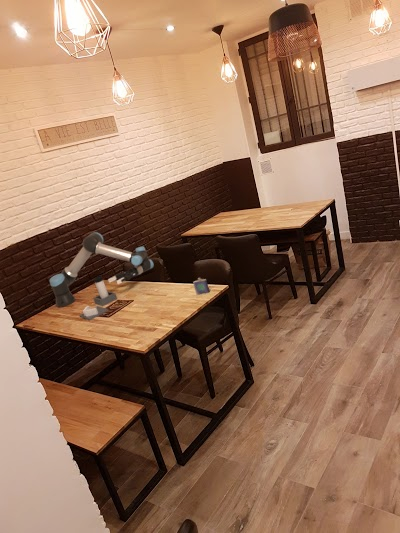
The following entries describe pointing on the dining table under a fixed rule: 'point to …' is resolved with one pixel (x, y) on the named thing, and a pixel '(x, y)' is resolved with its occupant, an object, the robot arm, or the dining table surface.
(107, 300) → the sleeve
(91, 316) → the V-cradle
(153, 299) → the dining table surface
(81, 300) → the dining table surface
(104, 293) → the travel mug
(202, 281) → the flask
